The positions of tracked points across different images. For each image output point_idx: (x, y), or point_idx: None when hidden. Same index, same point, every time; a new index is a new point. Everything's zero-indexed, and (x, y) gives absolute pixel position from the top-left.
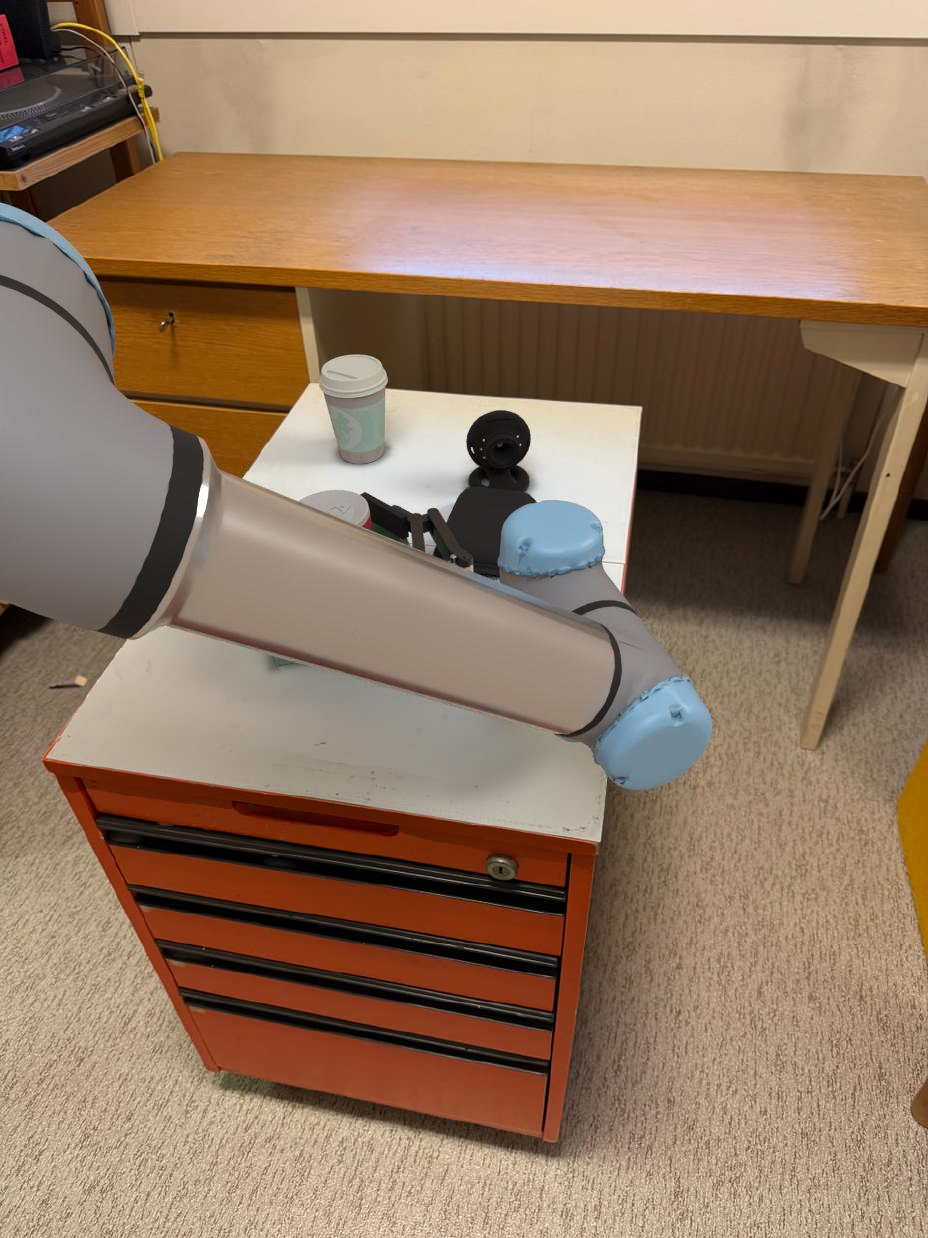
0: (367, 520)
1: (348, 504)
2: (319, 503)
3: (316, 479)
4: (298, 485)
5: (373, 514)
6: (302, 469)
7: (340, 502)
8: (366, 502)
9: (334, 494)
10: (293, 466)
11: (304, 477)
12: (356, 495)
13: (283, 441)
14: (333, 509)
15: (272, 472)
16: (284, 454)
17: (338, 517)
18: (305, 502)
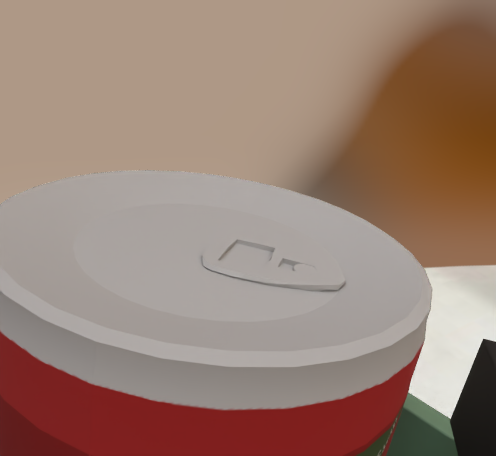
0: (288, 411)
1: (330, 276)
2: (264, 219)
3: (484, 326)
4: (445, 313)
5: (480, 447)
6: (478, 303)
7: (321, 256)
8: (410, 322)
9: (344, 229)
10: (469, 293)
11: (468, 312)
12: (410, 274)
13: (491, 268)
14: (254, 250)
15: (430, 279)
16: (474, 277)
17: (202, 275)
18: (231, 188)
